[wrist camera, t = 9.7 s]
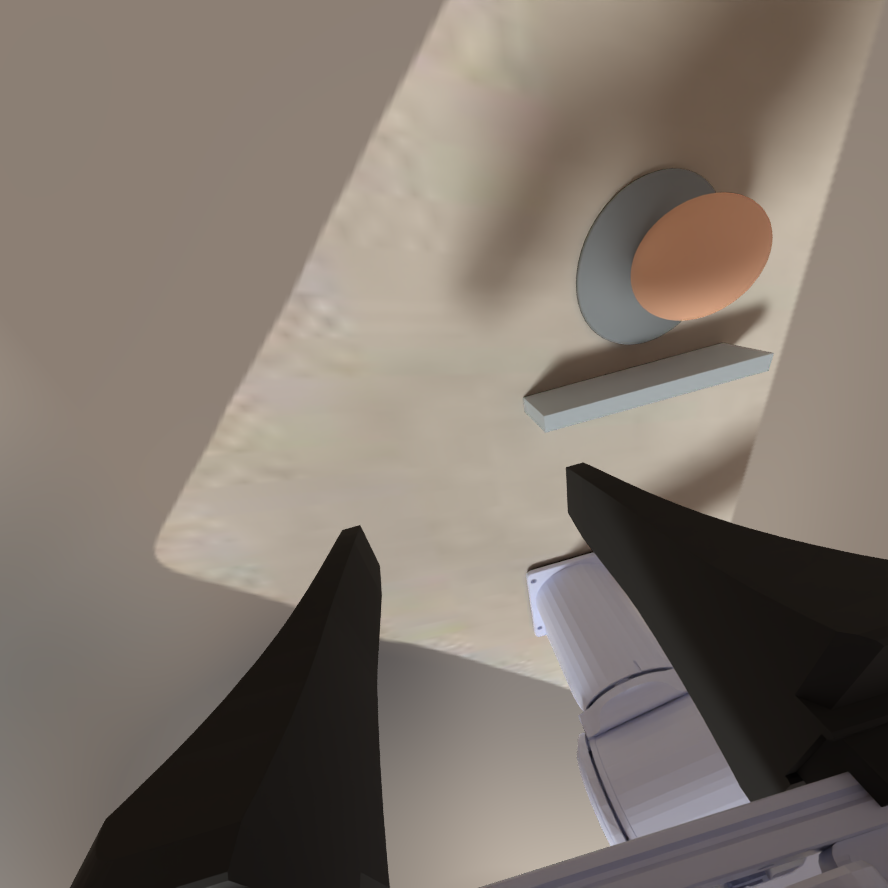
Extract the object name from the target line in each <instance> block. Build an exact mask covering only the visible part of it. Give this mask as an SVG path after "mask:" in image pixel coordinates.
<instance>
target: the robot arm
mask: <svg viewBox="0 0 888 888" xmlns="http://www.w3.org/2000/svg"><path fill="white" fill-rule="evenodd" d="M566 479H567V503H568V513H569V515H570V517H571V519H572V520H573V522H574V524H575V526H576V527H577V529H578V531H579V532H580V534H581V536H582V537H583V539H584V540H585V541H586V543H587V544H588V545H589V547H590V548H591V549H592V551H593V552H592V553H589V554H585V555H582V556H579V557H575V558H572V559H568V560H565V561H561V562H558V563H554V564H551V565H547V566H544V567H540V568H537V569H534V570H530V571H529V572H527V574H526V578H527V585H528V592H529V599H530V606H531V612H532V619H533V626H534V632H535V635H536V636H538V637H540V636H544V635H547V637H548V639H549V641H550V644H551V646H552V648H553V651H554V653H555V655H556V657H557V660H558V662H559V664H560V667H561V669H562V671H563V673H564V676H565V678H566V680H567V682H568V685H569V687H570V689H571V692H572V694H573V696H574V698H575V700H576V702H577V703H578V705H579V706H580V708H581V709H582V710H583V713H581V714H579V715H578V716H579V719H580V722H581V724H582V726H583V729H584V731H585V732H584V733H581V734H580V735H579V736H578V748H577V760H578V765H579V769H580V773H581V776H582V779H583V783H584V786H585V788H586V791H587V794H588V797H589V799H590V802H591V805H592V807H593V809H594V812H595V814H596V816H597V819H598V821H599V823H600V825H601V828H602V830H603V832H604V834H605V836H606V838H607V840H608V842H609V844H610V847H607V848H603V849H600V850H597V851H594V852H591V853H588V854H584V855H581V856H578V857H575V858H572V859H569V860H565V861H562V862H559V863H556V864H553V865H550V866H546V867H543V868H540V869H537V870H533V871H531V872H527V873H524V874H521V875H518V876H514V877H511V878H508V879H505V880H502V881H498V882H496V883H492V884H489V885H486V886H483V887H479V888H888V560H887V559H880V558H875V557H869V556H864V555H859V554H854V553H849V552H844V551H840V550H835V549H830V548H826V547H821V546H816V545H812V544H808V543H804V542H799V541H795V540H791V539H787V538H783V537H779V536H776V535H772V534H768V533H764V532H761V531H757V530H754V529H749V528H746V527H743V526H740V525H736V524H733V523H730V522H727V521H724V520H721V519H718V518H715V517H712V516H709V515H705V514H702V513H700V512H697V511H694V510H691V509H688V508H686V507H683V506H681V505H678V504H676V503H673V502H670V501H668V500H665V499H663V498H660V497H658V496H656V495H653V494H651V493H649V492H646V491H644V490H642V489H640V488H637V487H635V486H633V485H631V484H629V483H626V482H624V481H622V480H620V479H618V478H616V477H614V476H611V475H609V474H607V473H605V472H603V471H601V470H599V469H597V468H594V467H592V466H590V465H588V464H585V463H580V464H576V465H573V466H569V467H566ZM381 599H382V592H381V575H380V565H379V563H378V561H377V559H376V557H375V555H374V553H373V551H372V549H371V547H370V544H369V542H368V540H367V538H366V536H365V534H364V532H363V530H362V528H361V526H360V525H359V526H355V527H352V528H348V529H345V530H342V532H341V534H340V535H339V537H338V539H337V540H336V542H335V544H334V545H333V547H332V549H331V551H330V552H329V554H328V556H327V558H326V559H325V561H324V563H323V565H322V566H321V568H320V570H319V571H318V573H317V575H316V576H315V578H314V580H313V581H312V583H311V585H310V586H309V588H308V590H307V591H306V593H305V594H304V596H303V597H302V599H301V600H300V602H299V604H298V605H297V607H296V608H295V610H294V611H293V613H292V614H291V616H290V617H289V619H288V620H287V622H286V623H285V624H284V626H283V627H282V629H281V630H280V631H279V633H278V634H277V636H276V637H275V638H274V639H273V641H272V642H271V643H270V645H269V646H268V647H267V648H266V650H265V651H264V652H263V654H262V655H261V656H260V658H259V659H258V660H257V661H256V663H255V664H254V665H253V666H252V667H251V668H250V670H249V671H248V672H247V673H246V674H245V675H244V677H243V678H242V679H241V680H240V681H239V682H238V684H237V685H236V686H235V687H234V688H233V690H232V691H231V692H230V693H229V694H228V695H227V697H226V698H225V699H224V700H223V701H222V702H221V703H220V705H219V706H218V707H217V708H216V709H215V710H214V711H213V712H212V713H211V714H210V716H209V717H208V718H207V719H206V720H205V721H204V722H203V723H202V724H201V725H200V726H199V727H198V729H196V731H195V732H194V733H193V734H192V735H191V736H190V737H189V738H188V739H187V740H186V741H185V742H184V743H183V744H182V745H181V746H180V747H179V748H178V749H177V750H176V751H175V752H174V753H173V754H172V755H171V756H170V757H169V759H167V760H166V761H165V762H164V763H163V764H162V765H161V766H160V767H159V768H158V769H157V770H156V771H155V772H154V773H153V774H152V775H151V776H150V777H149V778H148V779H147V780H146V781H145V782H144V783H143V784H142V785H141V786H140V787H139V788H138V789H137V790H136V791H135V792H134V793H133V794H132V795H131V796H130V797H128V799H126V801H124V802H123V803H122V804H121V805H120V806H119V807H118V808H117V809H116V810H115V811H114V812H113V813H112V814H111V815H110V816H109V817H108V818H107V819H106V820H105V822H104V823H103V825H102V827H101V829H100V831H99V833H98V835H97V837H96V839H95V841H94V842H93V844H92V846H91V848H90V850H89V852H88V854H87V856H86V858H85V860H84V862H83V864H82V866H81V868H80V869H79V871H78V873H77V875H76V877H75V879H74V881H73V883H72V885H71V887H70V888H390V886H389V875H388V864H387V852H386V839H385V827H384V815H383V800H382V784H381V768H380V750H379V727H378V697H377V669H378V651H379V635H380V618H381Z"/></svg>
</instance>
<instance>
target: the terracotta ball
mask: <svg viewBox="0 0 888 888" xmlns="http://www.w3.org/2000/svg"><path fill="white" fill-rule="evenodd" d="M771 247H772V228H771V223H770V220H769V218H768V216H767V214H766V212H765V211H764V209H763V208H762V207H761V206H760V205H759V204H757V203H756V202H755V201H754V200H752V199H750V198H748V197H746V196H743V195H740V194H735V193H725V192H722V193H711V194H706V195H702V196H699V197H696V198H693V199H690V200H688V201H686V202H684V203H682V204H680V205H678V206H677V207H675V208H673V209H672V210H671V211H669V212H668V213H666V214H665V215H664V216H663V217H662V218H660V219H659V220H658V221H657V222H656V223H655V224H654V225H653V226H652V228H651V229H650V230H649V231H648V232H647V234H646V235H645V236H644V238H643V240H642V241H641V243H640V244H639V246H638V248H637V250H636V253H635V255H634V258H633V262H632V267H631V286H632V290H633V293H634V295H635V298H636V299H637V301H638V302H639V303H640V305H641V306H642V307H643V308H644V309H645V310H647V311H648V312H649V313H651V314H653V315H655V316H657V317H660V318H663V319H667V320H675V321H683V320H692V319H697V318H701V317H704V316H707V315H710V314H713V313H715V312H717V311H719V310H721V309H723V308H725V307H726V306H728V305H729V304H731V303H732V302H734V301H735V300H737V299H738V298H739V297H740V296H741V295H743V294H744V293H745V292H746V291H747V290H748V289H749V288H750V287H751V286H752V284H753V283H754V282H755V281H756V279H757V278H758V277H759V275H760V274H761V272H762V270H763V269H764V267H765V265H766V263H767V260H768V258H769V255H770V251H771Z"/></svg>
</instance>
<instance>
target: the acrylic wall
mask: <svg viewBox="0 0 888 888" xmlns="http://www.w3.org/2000/svg"><path fill="white" fill-rule="evenodd" d="M773 354H774V353H771V352H766V351H761V350H756V349H751V348H746V347H742V346H737V345H732V344H727V343H720V344H716V345H713V346H709V347H706V348H702V349H698V350H695V351H691V352H687V353H684V354H680V355H676V356H673V357H669V358H665V359H662V360H658V361H654V362H651V363H647V364H643V365H640V366H636V367H632V368H629V369H625V370H621V371H618V372H614V373H611V374H607V375H603V376H600V377H596V378H592V379H589V380H585V381H581V382H578V383H574V384H570V385H567V386H563V387H559V388H556V389H552V390H548V391H545V392H541V393H537V394H534V395H530V396H527V397H523V399H524V409H525V413H526V414H527V415H528V416H529V417H530V418H531V419H532V420H533V421H534V422H535V423H536V424H537V425H538V426H539V427H540V428H541V429H542V430H543V431H544V432H545V433H546V432H549V431H553V430H557V429H560V428H564V427H567V426H571V425H575V424H578V423H582V422H586V421H589V420H593V419H596V418H600V417H604V416H607V415H611V414H614V413H618V412H622V411H625V410H629V409H632V408H636V407H640V406H643V405H647V404H650V403H654V402H658V401H661V400H665V399H668V398H672V397H676V396H679V395H683V394H686V393H690V392H694V391H697V390H701V389H705V388H708V387H712V386H715V385H719V384H723V383H726V382H730V381H733V380H737V379H741V378H744V377H748V376H751V375H755V374H759V373H762V372H766V371H769V368H770V364H771V361H772V357H773Z"/></svg>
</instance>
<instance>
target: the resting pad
mask: <svg viewBox="0 0 888 888" xmlns="http://www.w3.org/2000/svg"><path fill="white" fill-rule="evenodd" d="M711 193H716V192H715V190H714V189H713V187H712V186H711V185H710V184H709V183H708V181H707V180H706V179H704V178H703V177H701V176H700V175H699V174H697V173H694V172H692V171H690V170H685V169H676V168H670V169H664V170H659V171H656V172H653V173H650V174H647V175H645V176H643V177H641V178H639V179H637V180H635V181H633V182H632V183H630V184H629V185H628V186H626V187H625V188H623V189H622V190H621V191H620V192H619V193H618V194H616V195H615V196H614V197H613V198H612V199H611V201H610V202H609V203H608V204H607V205H606V206H605V207H604V209H603V210H602V211H601V213H600V214H599V215H598V217H597V219H596V220H595V222H594V224H593V225H592V227H591V229H590V231H589V233H588V235H587V237H586V239H585V242H584V245H583V248H582V250H581V254H580V258H579V262H578V268H577V275H576V291H577V299H578V304H579V307H580V310H581V313H582V315H583V317H584V319H585V321H586V322H587V324H588V325H589V327H590V328H591V329H592V330H593V331H594V332H595V333H596V334H598V335H599V336H601V337H602V338H604V339H606V340H609V341H612V342H615V343H619V344H639V343H644V342H647V341H650V340H653V339H655V338H657V337H659V336H661V335H663V334H665V333H666V332H668V331H670V330H671V329H672V328H674V327H675V326H676V325H678V324H679V323H680V322H681V321H675V320H667V319H663V318H660V317H657V316H655V315H653V314H651V313H649V312H648V311H647V310H645V309H644V308H643V307H642V306H641V305H640V303H639V302H638V301H637V299H636V298H635V295H634V293H633V290H632V286H631V267H632V262H633V258H634V255H635V253H636V250H637V248H638V246H639V244H640V243H641V241H642V240H643V238H644V236H645V235H646V234H647V232H648V231H649V230H650V229H651V228H652V226H653V225H654V224H655V223H656V222H657V221H658V220H659V219H660V218H662V217H663V216H664V215H665V214H666V213H668V212H669V211H671V210H672V209H673V208H675V207H677V206H678V205H680V204H682V203H684V202H686V201H688V200H690V199H693V198H696V197H699V196H702V195H706V194H711Z"/></svg>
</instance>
